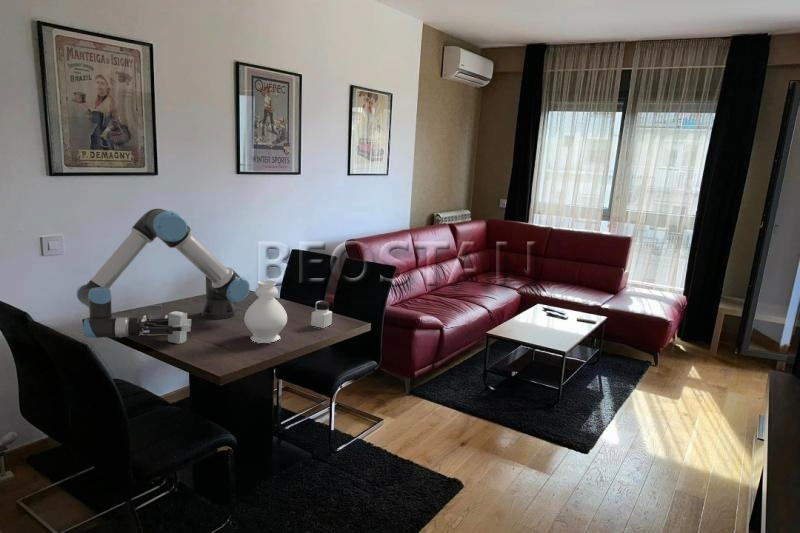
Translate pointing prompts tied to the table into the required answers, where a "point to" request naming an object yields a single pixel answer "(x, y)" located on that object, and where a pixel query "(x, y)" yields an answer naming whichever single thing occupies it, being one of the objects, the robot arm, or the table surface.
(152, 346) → the table surface
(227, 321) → the table surface
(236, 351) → the table surface
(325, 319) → the medicine bottle
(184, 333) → the skincare box
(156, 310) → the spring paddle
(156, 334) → the white rectangular tray
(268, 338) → the decorative vase
